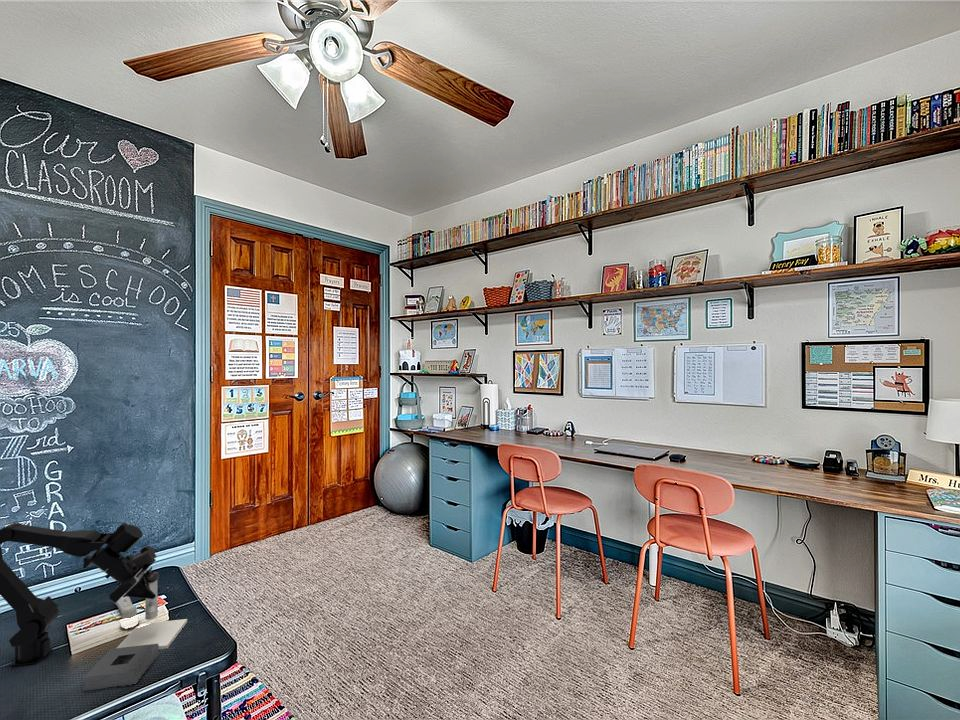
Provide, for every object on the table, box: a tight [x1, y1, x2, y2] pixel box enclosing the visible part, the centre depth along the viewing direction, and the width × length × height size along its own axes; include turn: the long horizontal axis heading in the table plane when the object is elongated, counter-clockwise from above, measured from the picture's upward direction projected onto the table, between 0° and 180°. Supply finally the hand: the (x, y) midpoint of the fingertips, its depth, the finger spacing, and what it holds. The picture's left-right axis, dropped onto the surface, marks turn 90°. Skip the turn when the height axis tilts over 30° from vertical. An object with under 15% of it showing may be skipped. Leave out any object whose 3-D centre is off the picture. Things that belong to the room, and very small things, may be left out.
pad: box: [116, 618, 188, 651], centre depth 141 cm, size 14×14×1 cm
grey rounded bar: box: [112, 593, 138, 618], centre depth 154 cm, size 5×7×25 cm
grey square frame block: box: [83, 644, 159, 692], centre depth 125 cm, size 12×12×4 cm
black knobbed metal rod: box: [144, 571, 160, 621], centre depth 140 cm, size 4×4×13 cm
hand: (156, 594), depth 140 cm, fingers closed on black knobbed metal rod, 3 cm apart
